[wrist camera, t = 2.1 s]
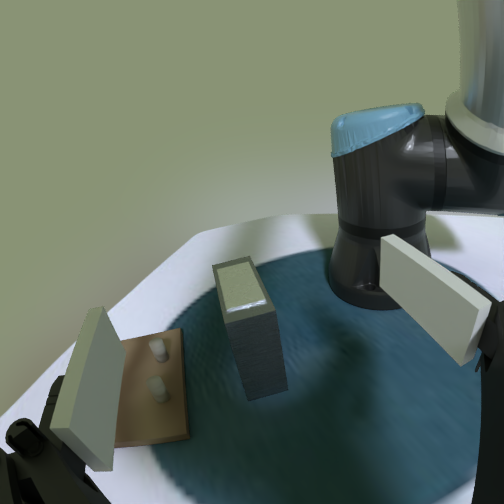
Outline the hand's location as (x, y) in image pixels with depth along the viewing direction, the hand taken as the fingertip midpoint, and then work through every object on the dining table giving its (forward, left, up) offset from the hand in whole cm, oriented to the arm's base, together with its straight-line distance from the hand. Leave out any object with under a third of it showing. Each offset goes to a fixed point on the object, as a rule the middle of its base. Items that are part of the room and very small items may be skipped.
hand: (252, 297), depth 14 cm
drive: (0, -13, -17) cm, 21 cm away
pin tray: (+14, -13, -17) cm, 25 cm away
